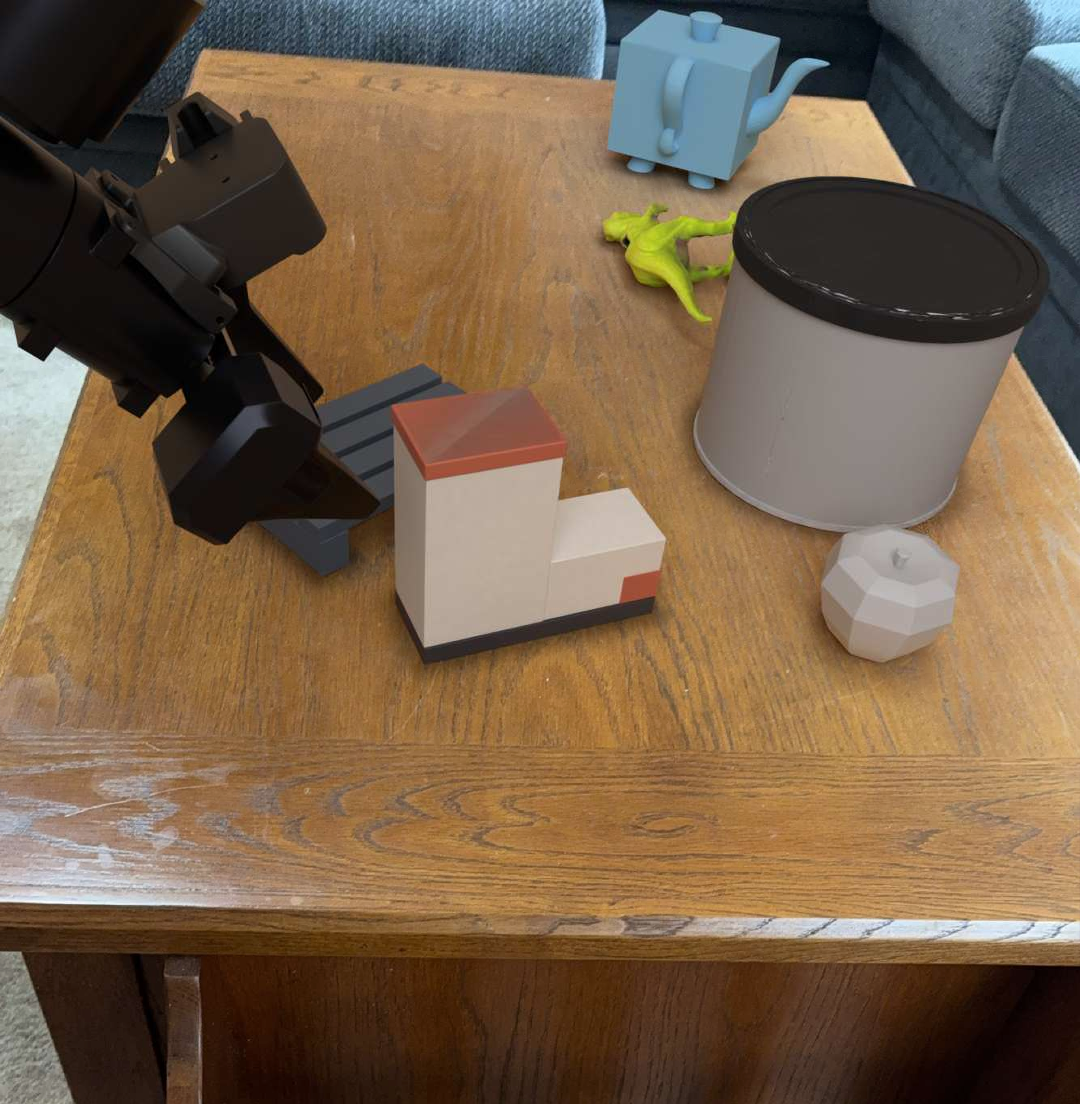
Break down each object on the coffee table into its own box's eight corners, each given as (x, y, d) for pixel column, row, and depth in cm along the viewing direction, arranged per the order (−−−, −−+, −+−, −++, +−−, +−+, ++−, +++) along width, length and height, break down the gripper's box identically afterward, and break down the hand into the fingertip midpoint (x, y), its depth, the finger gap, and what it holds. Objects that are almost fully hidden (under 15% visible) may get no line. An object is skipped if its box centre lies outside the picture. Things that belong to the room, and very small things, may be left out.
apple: (787, 591, 67) (817, 503, 62) (912, 595, 68) (951, 509, 63) (816, 686, 62) (851, 599, 57) (951, 690, 63) (997, 603, 58)
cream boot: (422, 665, 60) (425, 465, 50) (393, 604, 63) (390, 404, 54) (653, 612, 65) (696, 419, 55) (615, 557, 68) (650, 365, 58)
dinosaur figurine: (800, 325, 89) (821, 250, 85) (698, 349, 86) (714, 272, 81) (664, 220, 100) (676, 148, 96) (568, 236, 96) (575, 163, 92)
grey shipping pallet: (323, 577, 64) (319, 529, 62) (223, 494, 68) (216, 446, 66) (520, 476, 72) (525, 431, 70) (421, 408, 77) (421, 362, 74)
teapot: (595, 176, 105) (614, 22, 96) (647, 124, 115) (669, -20, 106) (776, 224, 102) (815, 70, 92) (814, 166, 112) (852, 21, 102)
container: (667, 495, 72) (714, 274, 61) (713, 356, 85) (759, 152, 74) (955, 564, 70) (1058, 348, 59) (959, 411, 83) (1045, 209, 72)
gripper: (226, 169, 32) (546, 439, 43) (121, -32, 43) (398, 227, 54) (7, 446, 35) (358, 627, 47) (-39, 194, 46) (255, 391, 58)
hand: (344, 450), depth 51 cm, fingers open, 9 cm apart
